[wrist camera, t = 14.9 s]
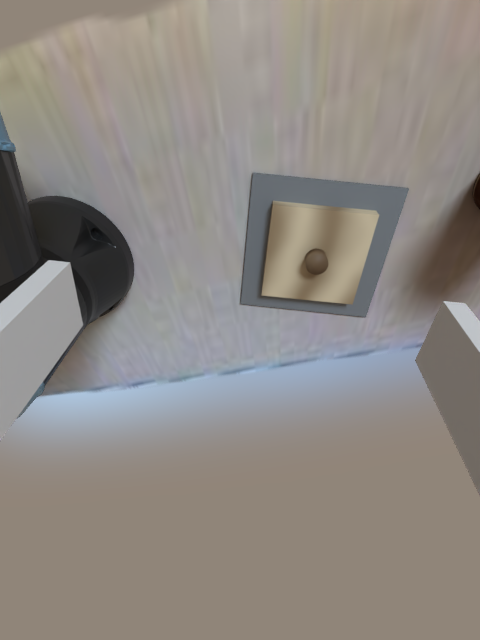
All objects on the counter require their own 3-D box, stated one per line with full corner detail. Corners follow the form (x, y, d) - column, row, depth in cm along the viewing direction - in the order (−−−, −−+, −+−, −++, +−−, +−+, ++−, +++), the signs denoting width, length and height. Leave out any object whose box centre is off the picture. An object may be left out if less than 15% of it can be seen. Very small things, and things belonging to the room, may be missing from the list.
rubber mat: (240, 302, 47) (240, 303, 47) (252, 172, 38) (252, 173, 38) (365, 315, 47) (365, 317, 47) (407, 188, 38) (408, 189, 38)
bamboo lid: (261, 289, 46) (261, 302, 43) (272, 200, 39) (272, 210, 37) (350, 298, 45) (355, 311, 43) (376, 210, 39) (383, 220, 37)
